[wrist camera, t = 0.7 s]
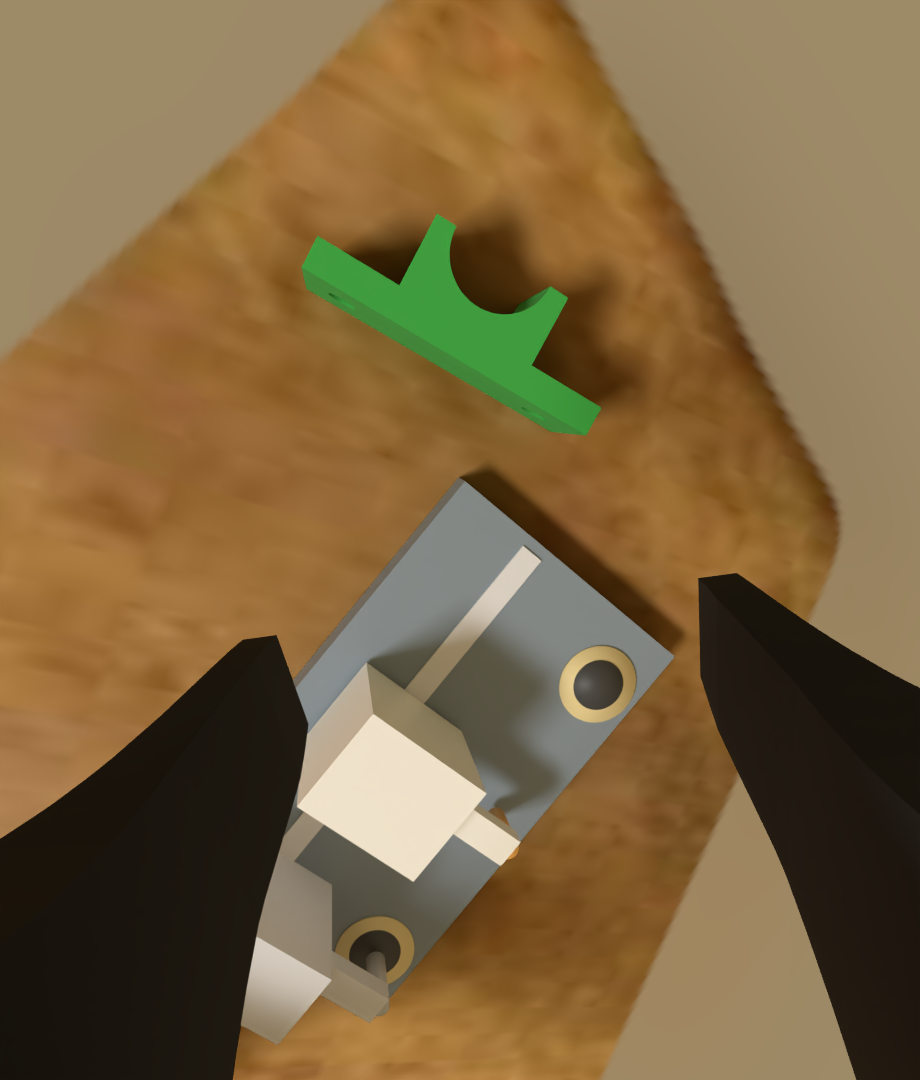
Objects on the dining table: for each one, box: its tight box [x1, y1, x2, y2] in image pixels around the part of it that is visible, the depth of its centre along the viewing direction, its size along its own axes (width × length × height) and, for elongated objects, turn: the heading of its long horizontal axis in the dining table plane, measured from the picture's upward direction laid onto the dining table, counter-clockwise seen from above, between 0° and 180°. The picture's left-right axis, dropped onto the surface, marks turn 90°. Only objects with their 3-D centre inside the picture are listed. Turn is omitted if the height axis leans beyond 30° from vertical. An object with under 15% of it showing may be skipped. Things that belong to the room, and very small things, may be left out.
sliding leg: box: [297, 662, 521, 882], centre depth 27 cm, size 4×9×5 cm, turn 50°
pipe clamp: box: [302, 214, 601, 435], centre depth 26 cm, size 11×4×5 cm, turn 61°
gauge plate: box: [241, 478, 675, 1045], centre depth 28 cm, size 20×12×7 cm, turn 140°
